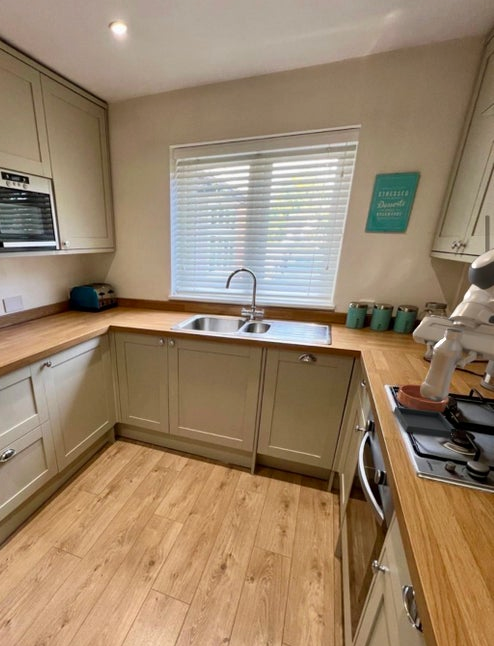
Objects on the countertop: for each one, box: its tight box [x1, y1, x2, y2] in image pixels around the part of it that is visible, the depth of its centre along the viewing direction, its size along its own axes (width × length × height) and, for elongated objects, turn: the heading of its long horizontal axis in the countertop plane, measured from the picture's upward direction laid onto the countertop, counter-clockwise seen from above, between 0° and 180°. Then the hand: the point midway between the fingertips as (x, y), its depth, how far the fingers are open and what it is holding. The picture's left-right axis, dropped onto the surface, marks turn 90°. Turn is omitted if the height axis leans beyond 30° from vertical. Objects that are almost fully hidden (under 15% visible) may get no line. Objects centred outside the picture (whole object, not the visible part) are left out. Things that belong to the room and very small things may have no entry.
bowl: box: [396, 383, 450, 414], centre depth 107 cm, size 13×13×4 cm
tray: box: [393, 406, 456, 439], centre depth 96 cm, size 12×11×2 cm
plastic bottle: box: [420, 329, 464, 402], centre depth 89 cm, size 6×7×20 cm
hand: (443, 361), depth 89 cm, fingers closed on plastic bottle, 6 cm apart
